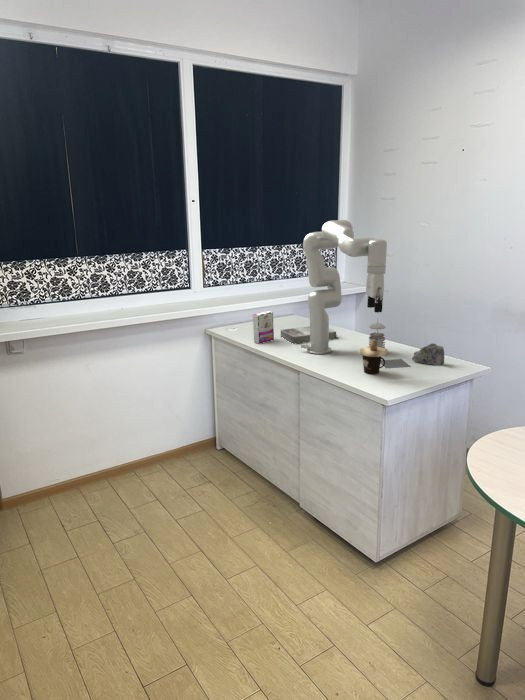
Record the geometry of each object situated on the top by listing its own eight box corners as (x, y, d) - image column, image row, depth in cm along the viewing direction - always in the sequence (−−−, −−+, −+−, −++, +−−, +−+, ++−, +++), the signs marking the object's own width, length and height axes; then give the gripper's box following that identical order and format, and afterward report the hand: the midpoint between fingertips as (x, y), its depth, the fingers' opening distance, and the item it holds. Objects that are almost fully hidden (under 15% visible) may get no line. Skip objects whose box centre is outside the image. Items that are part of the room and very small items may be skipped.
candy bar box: (268, 338, 286) (267, 310, 282) (274, 340, 283) (273, 311, 278) (253, 342, 279) (252, 313, 275) (259, 344, 276) (258, 315, 271)
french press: (386, 350, 257) (388, 302, 250) (385, 357, 246) (388, 307, 239) (367, 350, 259) (368, 302, 253) (365, 356, 249) (367, 306, 242)
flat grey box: (336, 339, 283) (336, 331, 282) (292, 344, 274) (292, 337, 273) (321, 332, 300) (322, 325, 299) (280, 337, 291) (279, 329, 290)
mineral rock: (410, 362, 237) (411, 342, 234) (424, 358, 243) (425, 338, 240) (434, 369, 227) (435, 347, 224) (448, 364, 233) (449, 343, 230)
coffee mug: (359, 370, 228) (359, 349, 225) (377, 369, 228) (378, 348, 226) (366, 379, 216) (367, 356, 214) (386, 378, 217) (387, 355, 214)
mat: (385, 369, 228) (385, 368, 228) (377, 361, 240) (377, 360, 240) (411, 367, 230) (411, 366, 229) (401, 360, 241) (401, 358, 241)
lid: (364, 357, 213) (364, 344, 211) (356, 349, 224) (356, 337, 223) (391, 356, 214) (392, 343, 213) (382, 348, 226) (382, 336, 224)
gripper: (361, 267, 219) (360, 306, 224) (374, 272, 202) (372, 314, 207) (378, 266, 220) (376, 305, 224) (392, 272, 203) (389, 313, 208)
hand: (374, 309), depth 216 cm, fingers open, 9 cm apart
